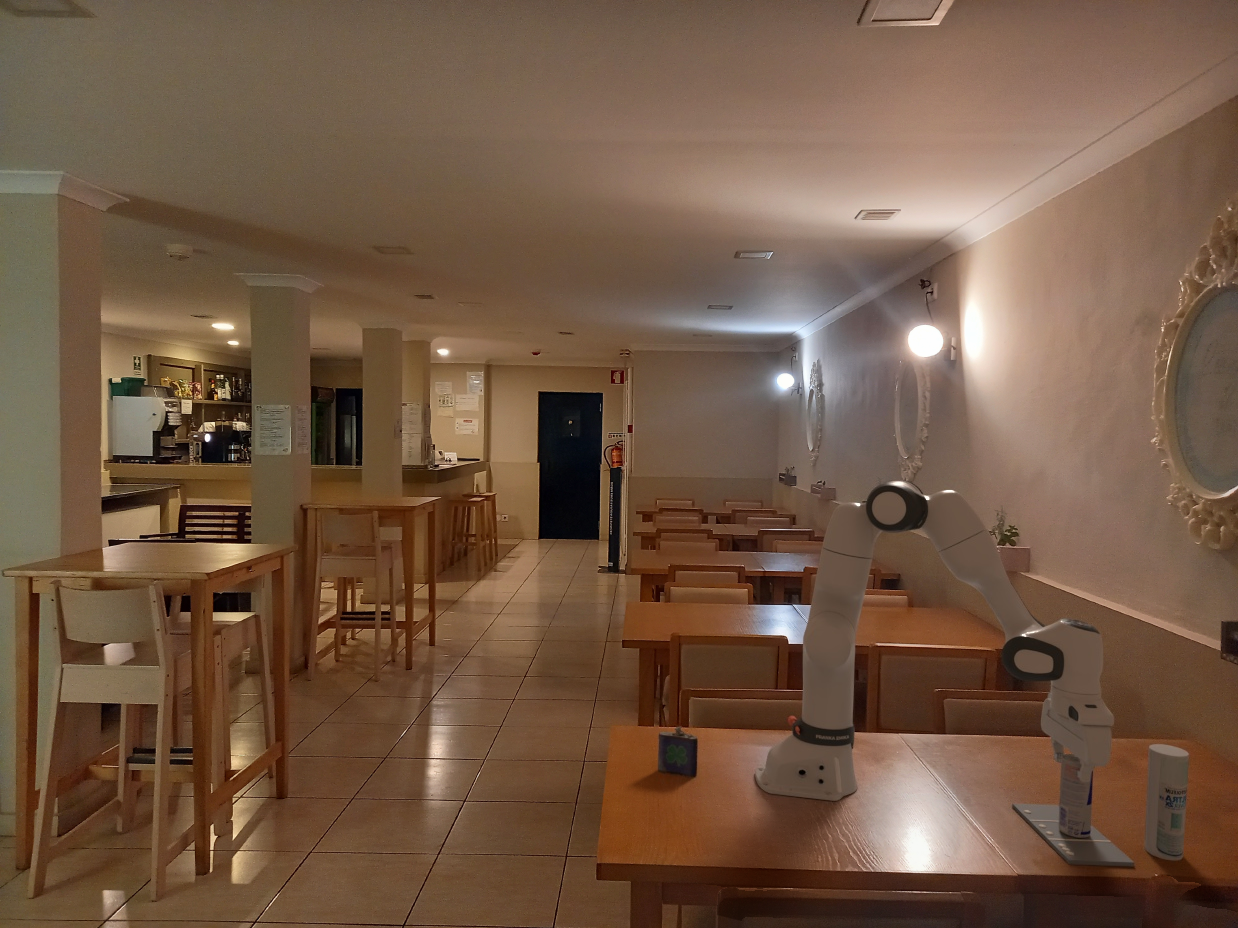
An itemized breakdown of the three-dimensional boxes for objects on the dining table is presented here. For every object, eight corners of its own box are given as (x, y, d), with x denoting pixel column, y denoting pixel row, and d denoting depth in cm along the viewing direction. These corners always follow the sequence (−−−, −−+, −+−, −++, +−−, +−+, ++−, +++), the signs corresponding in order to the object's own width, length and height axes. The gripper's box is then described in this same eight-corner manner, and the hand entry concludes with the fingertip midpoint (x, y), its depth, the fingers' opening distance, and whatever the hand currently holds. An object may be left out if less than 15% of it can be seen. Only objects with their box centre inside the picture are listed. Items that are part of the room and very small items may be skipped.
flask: (656, 772, 196) (657, 726, 196) (659, 767, 199) (661, 722, 198) (695, 778, 193) (697, 731, 193) (698, 773, 196) (700, 727, 195)
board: (1068, 863, 158) (1069, 859, 158) (1012, 806, 182) (1012, 802, 182) (1134, 866, 158) (1134, 861, 158) (1068, 808, 182) (1069, 804, 182)
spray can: (1166, 843, 168) (1171, 743, 167) (1192, 860, 161) (1197, 756, 160) (1135, 844, 167) (1140, 743, 166) (1160, 861, 160) (1166, 756, 160)
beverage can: (1095, 840, 166) (1098, 764, 166) (1065, 838, 167) (1068, 762, 166) (1082, 827, 172) (1085, 753, 171) (1053, 825, 172) (1056, 752, 172)
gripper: (1034, 685, 180) (1031, 750, 180) (1085, 718, 159) (1081, 791, 160) (1064, 686, 180) (1061, 751, 180) (1119, 720, 159) (1115, 792, 160)
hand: (1071, 770), depth 170 cm, fingers open, 8 cm apart
